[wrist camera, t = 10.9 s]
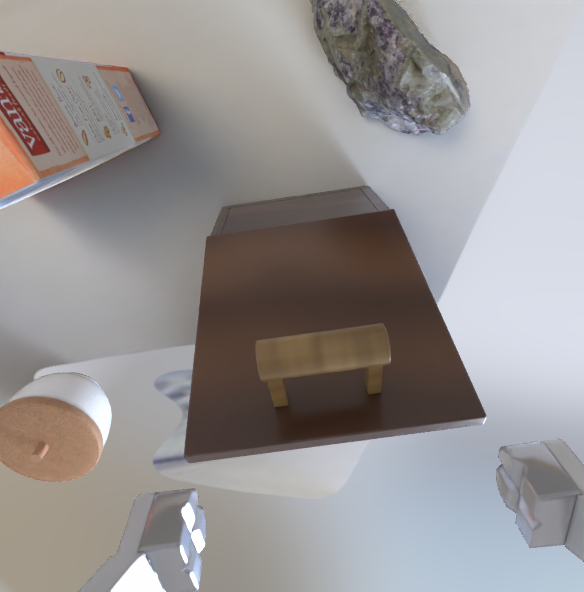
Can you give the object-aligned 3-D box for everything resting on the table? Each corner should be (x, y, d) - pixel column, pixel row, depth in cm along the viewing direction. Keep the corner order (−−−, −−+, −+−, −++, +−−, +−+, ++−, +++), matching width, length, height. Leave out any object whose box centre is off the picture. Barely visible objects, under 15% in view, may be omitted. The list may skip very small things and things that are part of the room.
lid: (484, 425, 19) (511, 359, 16) (188, 464, 20) (148, 408, 16) (393, 217, 31) (397, 152, 27) (209, 244, 31) (189, 184, 28)
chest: (376, 329, 46) (397, 380, 38) (252, 346, 47) (247, 400, 39) (368, 185, 39) (392, 211, 31) (221, 207, 39) (208, 238, 32)
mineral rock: (301, -20, 32) (312, -61, 23) (443, -65, 31) (511, -125, 22) (336, 152, 38) (356, 174, 29) (456, 119, 37) (516, 130, 28)
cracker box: (125, 61, 34) (-57, 34, 15) (164, 135, 36) (48, 189, 18) (-18, 132, 36) (-336, 185, 17) (28, 197, 38) (-205, 306, 20)
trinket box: (78, 339, 45) (34, 397, 37) (143, 404, 50) (117, 469, 41) (6, 382, 48) (-51, 446, 39) (75, 441, 52) (37, 510, 43)
